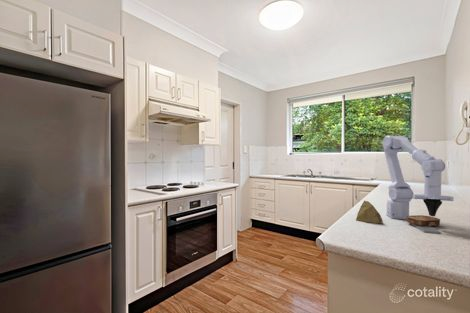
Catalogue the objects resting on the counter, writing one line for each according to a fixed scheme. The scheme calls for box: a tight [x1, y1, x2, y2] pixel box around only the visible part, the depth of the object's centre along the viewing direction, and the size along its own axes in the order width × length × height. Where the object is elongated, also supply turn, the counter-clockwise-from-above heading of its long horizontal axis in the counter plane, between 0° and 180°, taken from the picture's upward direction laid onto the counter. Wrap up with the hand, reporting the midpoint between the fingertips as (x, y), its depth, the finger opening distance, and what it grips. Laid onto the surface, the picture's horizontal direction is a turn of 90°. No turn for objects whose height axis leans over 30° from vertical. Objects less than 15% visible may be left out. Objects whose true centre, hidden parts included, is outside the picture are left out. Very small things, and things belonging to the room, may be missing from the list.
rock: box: [355, 200, 384, 224], centre depth 111 cm, size 11×9×10 cm
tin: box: [406, 215, 441, 227], centre depth 108 cm, size 15×3×8 cm
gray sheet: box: [407, 222, 442, 235], centre depth 103 cm, size 6×15×1 cm, turn 163°
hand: (432, 215), depth 103 cm, fingers closed
